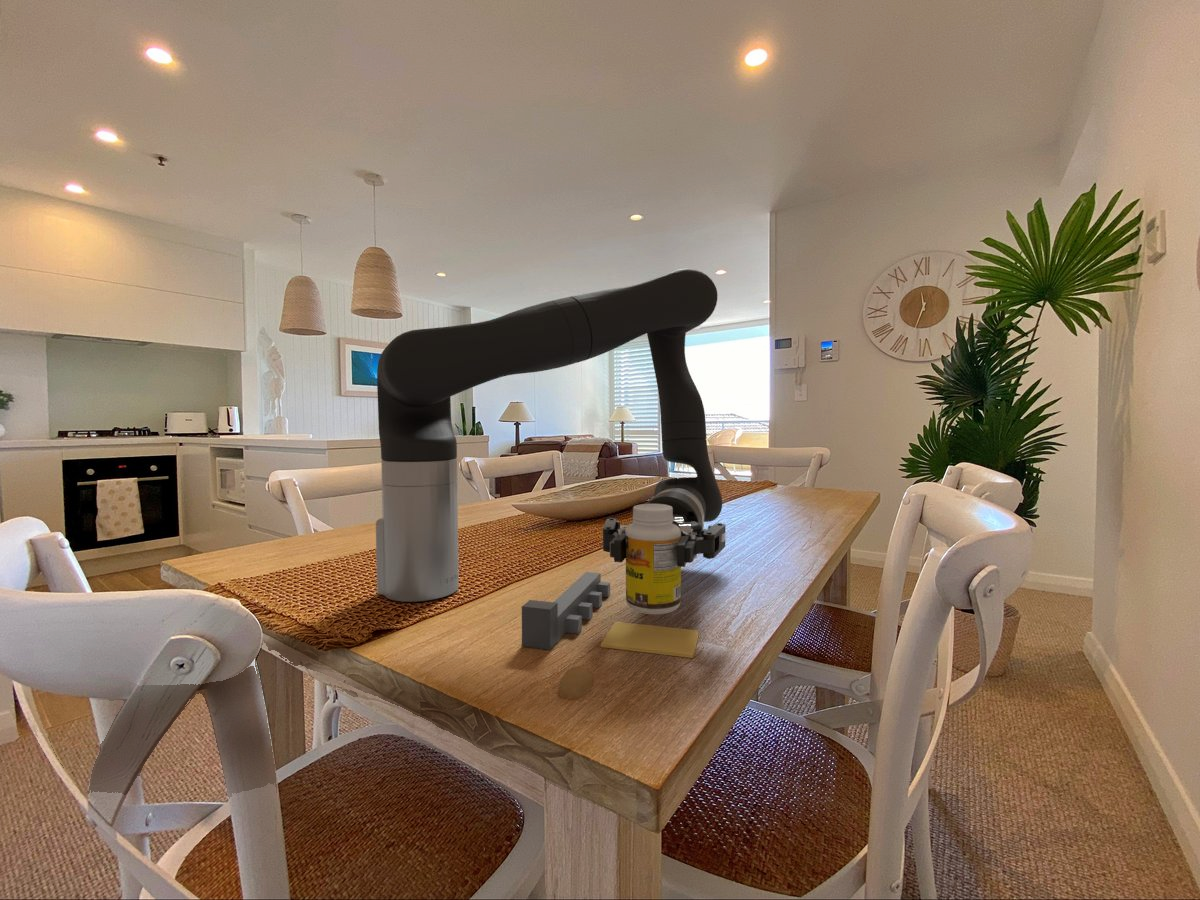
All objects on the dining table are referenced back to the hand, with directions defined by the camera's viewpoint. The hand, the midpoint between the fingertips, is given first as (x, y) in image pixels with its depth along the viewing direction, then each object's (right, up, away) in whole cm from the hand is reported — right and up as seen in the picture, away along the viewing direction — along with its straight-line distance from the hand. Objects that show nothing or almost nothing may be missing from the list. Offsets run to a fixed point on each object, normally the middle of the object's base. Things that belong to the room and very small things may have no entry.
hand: (648, 554), depth 51 cm
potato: (-7, -10, -7) cm, 14 cm away
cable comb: (-8, -9, +9) cm, 15 cm away
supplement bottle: (+1, -6, +3) cm, 7 cm away
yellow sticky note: (0, -9, +3) cm, 10 cm away
